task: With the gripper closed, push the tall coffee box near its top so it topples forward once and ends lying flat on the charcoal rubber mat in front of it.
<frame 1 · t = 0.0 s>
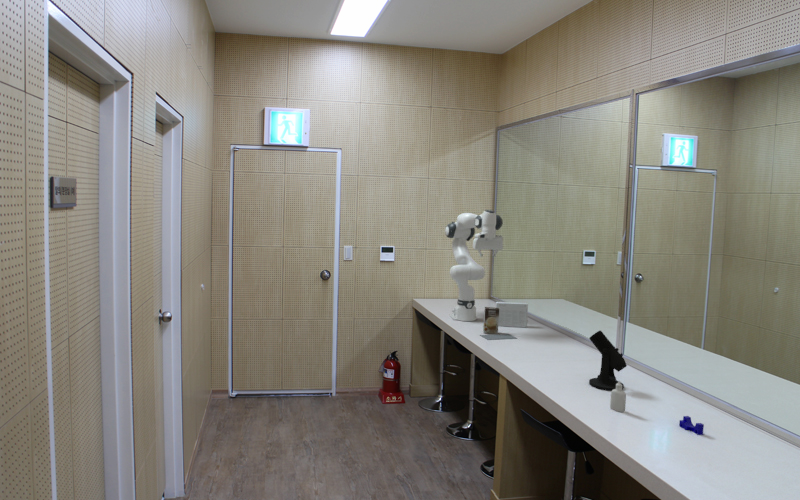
hand: (487, 256, 349), 48 cm above the table, tool pointing down, fingers open, 8 cm apart
coffee box: (490, 333, 344), on the table
cable holder: (690, 431, 200), on the table
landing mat: (498, 337, 334), on the table
microphone: (605, 386, 248), on the table
skincare box: (510, 326, 366), on the table
eye dropper bottle: (617, 410, 218), on the table
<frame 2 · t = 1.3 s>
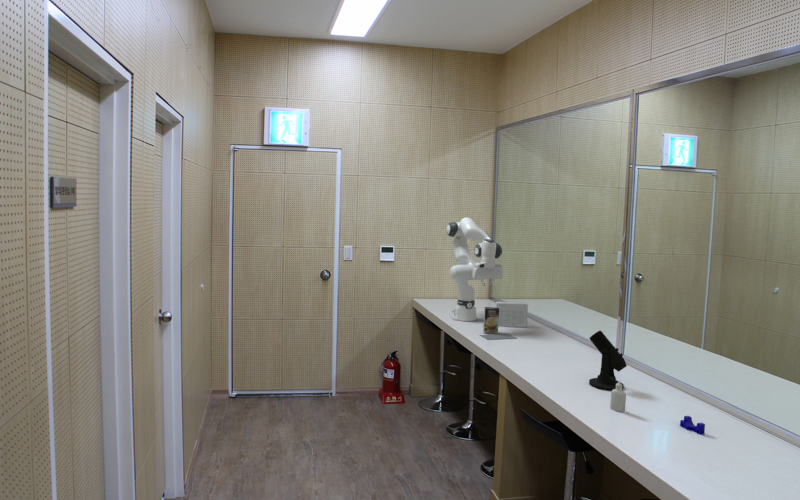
hand: (487, 285, 349), 29 cm above the table, tool pointing down, fingers open, 4 cm apart
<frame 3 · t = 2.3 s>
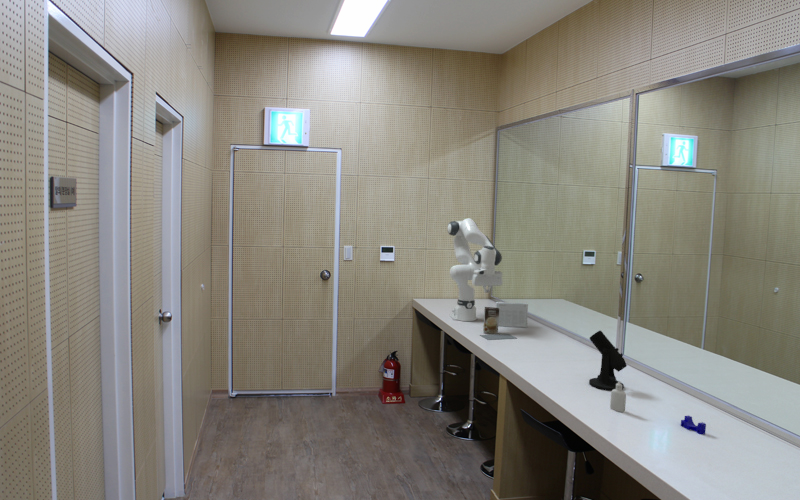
hand: (486, 292, 350), 25 cm above the table, tool pointing down, fingers closed
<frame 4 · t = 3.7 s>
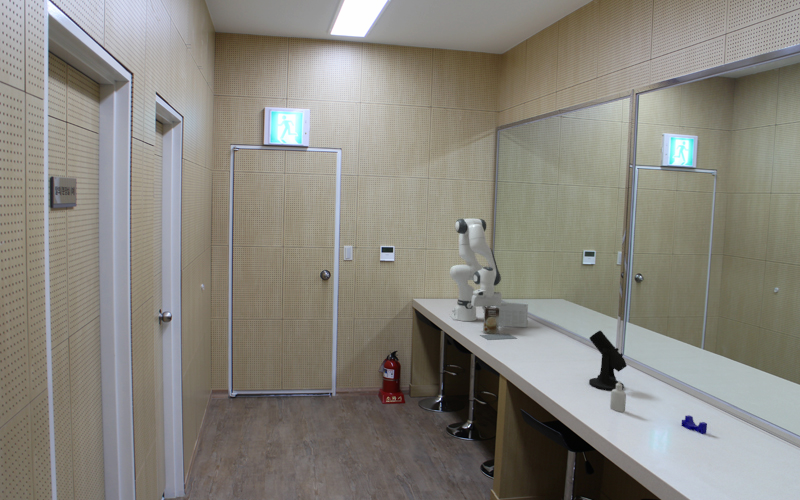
hand: (485, 313, 351), 11 cm above the table, tool pointing down, fingers closed
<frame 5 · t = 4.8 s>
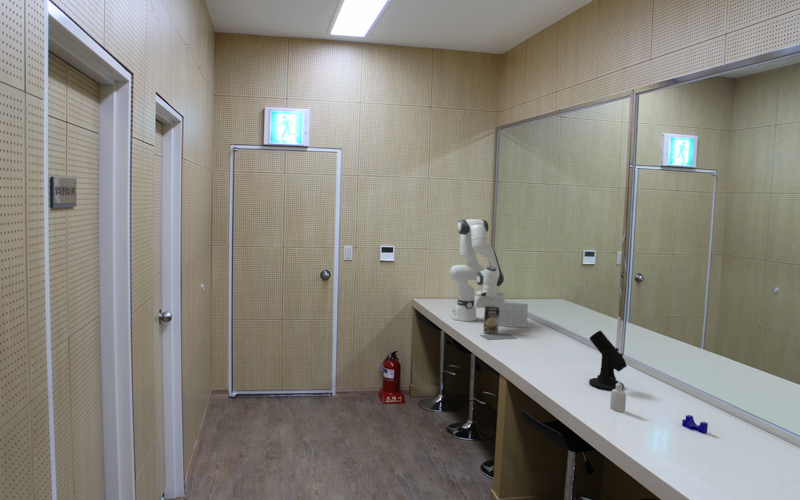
hand: (488, 314, 347), 11 cm above the table, tool pointing down, fingers closed
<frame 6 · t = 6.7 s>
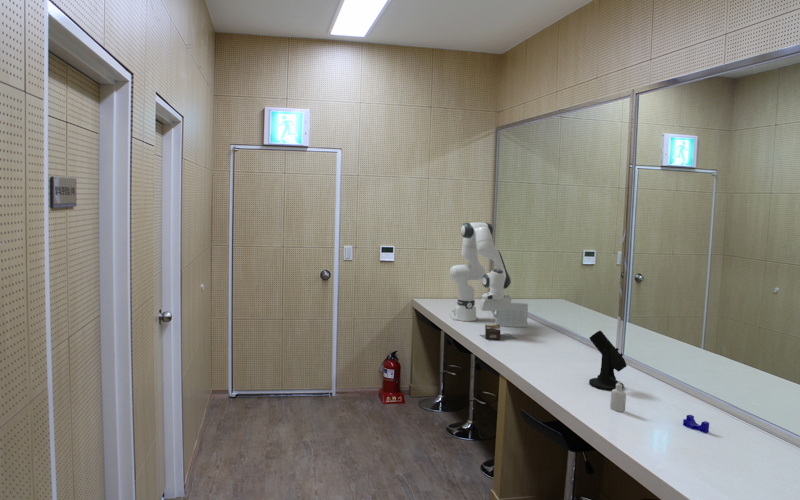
hand: (495, 317, 338), 11 cm above the table, tool pointing down, fingers closed
coffee box: (492, 328, 341), point 4 cm above the table, touching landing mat
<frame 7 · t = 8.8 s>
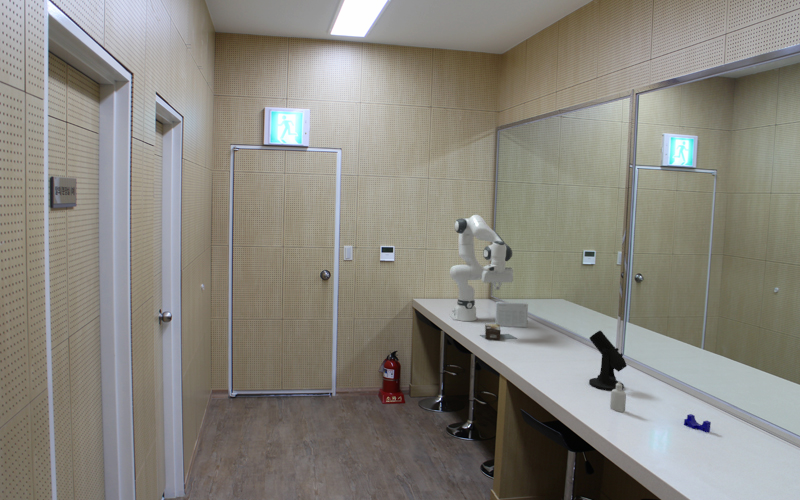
hand: (496, 289, 336), 29 cm above the table, tool pointing down, fingers closed
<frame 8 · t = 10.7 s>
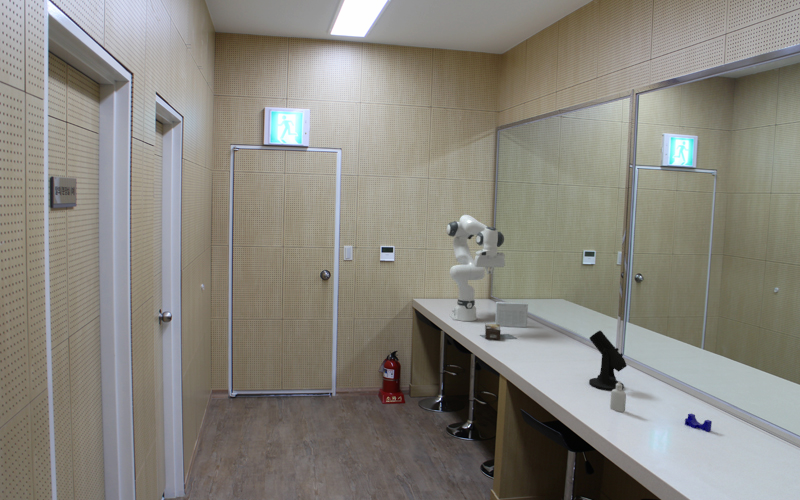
hand: (489, 273, 347), 37 cm above the table, tool pointing down, fingers closed
at the end: coffee box tilted 90°; coffee box touching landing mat; coffee box inside the target area (2.8 cm from its centre), point 3.5 cm above the table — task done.
